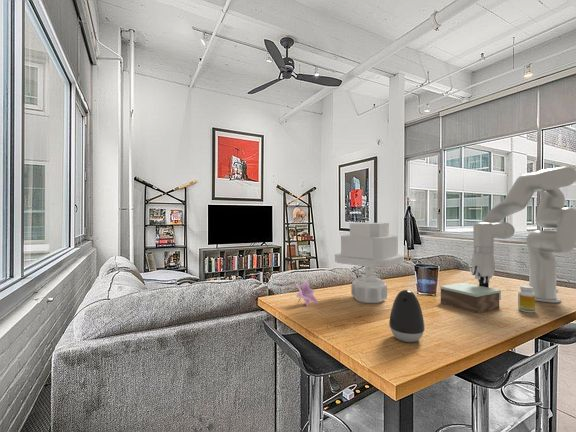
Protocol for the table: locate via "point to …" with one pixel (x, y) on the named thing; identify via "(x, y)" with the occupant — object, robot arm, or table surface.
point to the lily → (306, 293)
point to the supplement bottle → (526, 299)
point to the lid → (471, 289)
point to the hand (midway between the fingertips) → (483, 291)
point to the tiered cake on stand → (369, 258)
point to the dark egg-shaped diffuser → (406, 317)
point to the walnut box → (470, 301)
